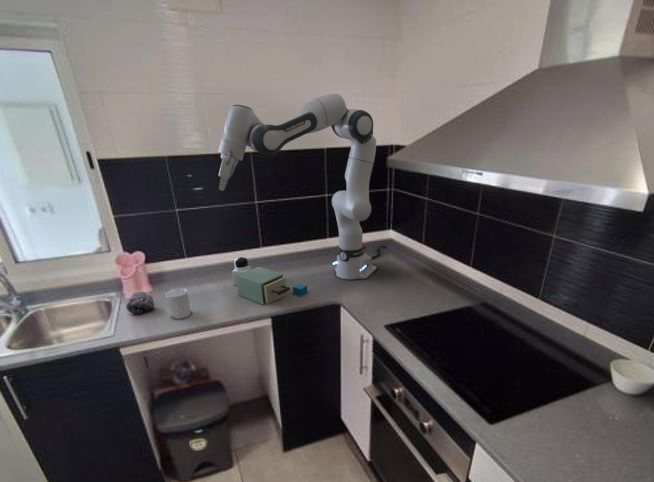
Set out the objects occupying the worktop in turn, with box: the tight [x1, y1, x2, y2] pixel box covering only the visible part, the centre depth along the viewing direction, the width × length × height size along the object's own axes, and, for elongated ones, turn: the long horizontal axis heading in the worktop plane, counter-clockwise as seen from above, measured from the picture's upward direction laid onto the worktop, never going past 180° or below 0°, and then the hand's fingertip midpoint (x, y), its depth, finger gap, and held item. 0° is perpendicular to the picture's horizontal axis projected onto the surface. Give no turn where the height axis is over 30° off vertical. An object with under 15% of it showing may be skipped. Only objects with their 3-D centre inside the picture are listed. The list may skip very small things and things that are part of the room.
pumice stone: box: [125, 291, 156, 315], centre depth 155 cm, size 10×8×10 cm
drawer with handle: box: [262, 276, 291, 304], centre depth 163 cm, size 19×11×8 cm, turn 53°
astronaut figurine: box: [231, 256, 253, 286], centre depth 177 cm, size 7×7×12 cm
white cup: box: [165, 287, 191, 320], centre depth 150 cm, size 8×8×10 cm
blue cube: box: [292, 283, 308, 297], centre depth 168 cm, size 4×4×4 cm
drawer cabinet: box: [236, 266, 284, 305], centre depth 166 cm, size 16×13×10 cm
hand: (222, 189), depth 143 cm, fingers open, 8 cm apart
